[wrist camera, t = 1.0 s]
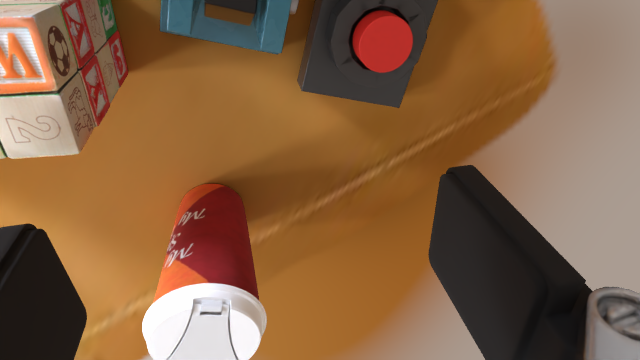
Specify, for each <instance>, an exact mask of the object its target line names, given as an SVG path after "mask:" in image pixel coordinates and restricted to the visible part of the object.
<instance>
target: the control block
mask: <svg viewBox="0 0 640 360" xmlns="http://www.w3.org/2000/svg"><path fill="white" fill-rule="evenodd" d="M437 2H438V0H315V4H314V9H313V13H312V17H311V22H310V26H309V31H308V35H307V40H306V44H305V49H304V53H303V58H302V62H301V67H300V71H299V76H298V80H297V81H298V83H299V86H300V88H301V91H305V92H311V93H317V94H323V95H328V96H334V97H340V98H345V99H351V100H357V101H363V102H368V103H374V104H380V105H385V106H391V107H397V108H399V107H400V104H401V101H402V99H403V96H404V93H405V90H406V87H407V85H408V82H409V79H410V76H411V74H412V71H413V68H414V65H415V64H416V63H417V62H418V60H419V57H420V55H421V52H422V49H423V46H424V44H425V41H426V38H427V37H426V36H427V29H428V27H429V24H430V21H431V18H432V16H433V13H434V10H435V7H436V5H437ZM378 10H385V11H389V12H391V13H393V14H395V15H397V16H398V17H400V18H402V19H403V20H404V21H405V22H406V23H407V24H408V25H409V27H410V29H411V31H412V35H413V45H412V49H411V52H410V54H409V56H408V58H407V59H406V61H405V62H404V63H403V64H402V65H401V66H399V67H398V68H396V69H395V70H392V71H390V72H385V73H380V72H375V71H372V70H370V69H369V68H367V67H366V66H365V65H364V64H363V62H362V61H361V60H360V59H359V58H358V57H357V55H356V54H355V52H354V49H353V42H352V40H353V33H354V30H355V28H356V26H357V24H358V23H359V22H360V20H361V19H362V18H363V17H365V16H366V15H367V14H369V13H371V12H374V11H378Z"/></svg>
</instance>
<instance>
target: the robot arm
mask: <svg viewBox="0 0 640 360" xmlns="http://www.w3.org/2000/svg"><path fill="white" fill-rule="evenodd" d="M429 260H430V264H431V266H432V268H433V270H434V272H435V273H436V275H437V277H438V278H439V280H440V282H441V284H442V285H443V287H444V289H445V290H446V292H447V294H448V296H449V297H450V299H451V301H452V303H453V304H454V306H455V308H456V309H457V311H458V313H459V315H460V316H461V318H462V320H463V322H464V323H465V325H466V326H467V329H468V330H469V332H470V334H471V335H472V337H473V339H474V341H475V342H476V344H477V346H478V348H479V349H480V351H481V353H482V354H483V356H484V358H485V360H640V294H639V293H637V292H634V291H632V290H628V289H624V288H619V287H603V288H599V289H596V290H594V291H592V290H591V289H590V288H589V287H588V286H587V285H586V284H585V281H586V280H585V279H584V278H583V277H582V276H581V275H580V274H579V273H578V272H577V271H576V270H575V269H574V268H573V267H572V266H571V265H570V264H569V263H568V262H567V261H566V260H565V259H564V258H563V257H562V256H561V255H560V254H559V253H558V251H556V250H555V249H554V247H552V245H551V244H550V243H549V242H548V241H546V239H545V238H544V237H543V236H542V235H541V234H540V233H539V232H538V231H537V230H536V229H535V228H534V227H533V226H532V225H531V224H530V223H529V222H528V221H527V220H526V219H525V218H524V217H523V216H522V215H521V214H520V213H519V212H518V211H517V210H516V209H515V208H514V206H513V205H511V203H510V202H509V201H508V200H507V199H506V198H505V197H504V196H503V195H502V194H501V193H500V192H499V191H498V190H497V189H496V188H495V187H494V186H493V185H492V184H491V183H490V182H489V181H488V180H487V179H486V178H485V177H484V176H483V175H482V174H481V173H480V172H479V171H478V170H477V169H476V168H475V167H474V166H473V165H467V166H459V167H452V168H449V169H448V170H447V172H446V174H443V175H442V176H441V177H440V182H439V189H438V195H437V202H436V208H435V215H434V221H433V228H432V234H431V241H430V248H429ZM86 320H87V314H86V309H85V307H84V305H83V303H82V301H81V299H80V297H79V295H78V293H77V291H76V290H75V288H74V286H73V284H72V282H71V280H70V278H69V276H68V274H67V272H66V270H65V268H64V266H63V265H62V263H61V261H60V259H59V257H58V255H57V253H56V251H55V249H54V247H53V245H52V243H51V241H50V240H49V238H48V236H47V234H46V232H45V231H44V230H43V229H37V228H36V227H35V226H34V225H32V224H22V225H15V226H7V227H1V228H0V360H74V357H75V354H76V351H77V349H78V346H79V343H80V340H81V337H82V334H83V331H84V328H85V325H86Z"/></svg>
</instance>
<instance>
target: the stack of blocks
mask: <svg viewBox="0 0 640 360" xmlns="http://www.w3.org/2000/svg"><path fill="white" fill-rule="evenodd" d="M127 75H128V69H127V64H126V60H125V56H124V51H123V47H122V43H121V39H120V35H119V32H118V30H117V25H116V21H115V16H114V12H113V8H112V3H111V0H0V159H3V158H6V157H9V158H12V159H20V158H36V157H52V156H67V155H76V154H79V153H80V152H81V150H82V149H83V147H84V145H85V144H86V142H87V140H88V138H89V137H90V135H91V133H92V131H93V129H94V127H96V126H99V124H100V122H101V121H102V120H103V118H104V116H105V114H106V113H107V111H108V109H109V107H110V103H111V102H112V100H113V98H114V96H115V94H116V93H117V91H118V89H119V88H120V87H121V85H122V83H123V82H124V80H125V78H126V77H127Z"/></svg>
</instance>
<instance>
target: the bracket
mask: <svg viewBox="0 0 640 360" xmlns="http://www.w3.org/2000/svg"><path fill="white" fill-rule="evenodd" d="M298 3H299V0H258V2H257V11H256V14H255V16H254V18H253V21H252V23H251V25H250V26H247V25H242V24H238V23H233V22H228V21H224V20H219V19H214V18H210V17H206V16H205V15H204V0H161V16H160V31H161V32H166V33H171V34H176V35H181V36H186V37H191V38H197V39H202V40H207V41H212V42H217V43H222V44H227V45H232V46H237V47H242V48H247V49H252V50H257V51H262V52H267V53H272V54H279V53H282V48H283V43H284V38H285V33H286V28H287V23H288V18H289V14H295V12H296V10H297V7H298Z"/></svg>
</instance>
